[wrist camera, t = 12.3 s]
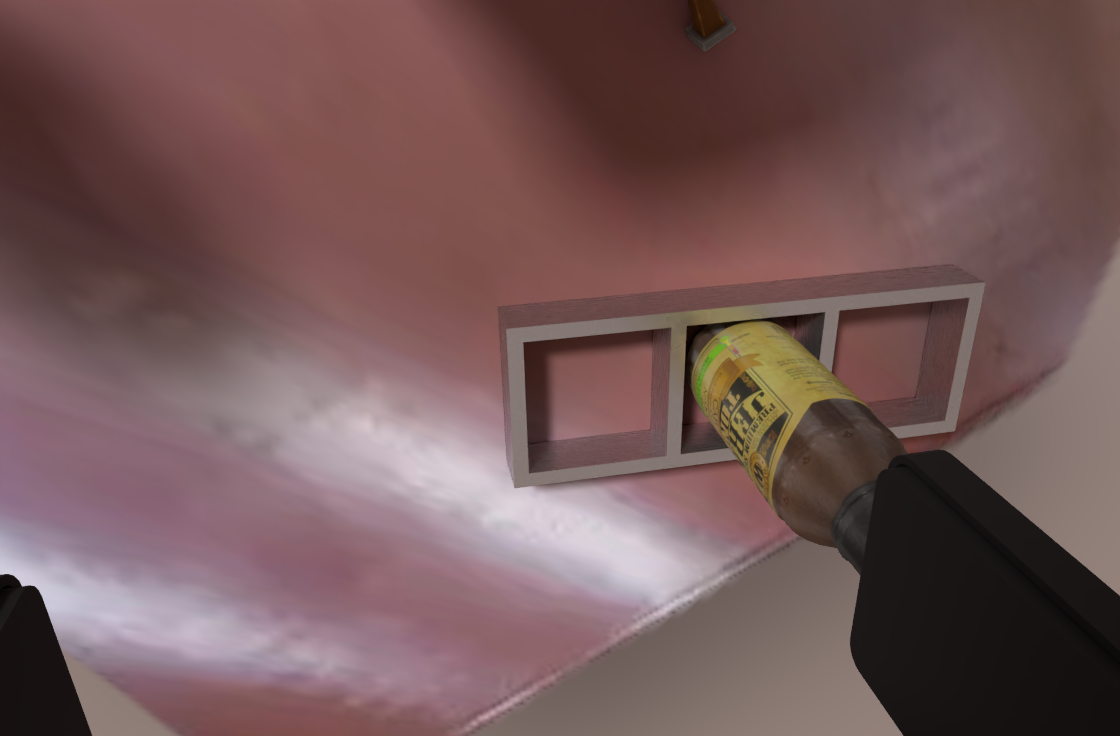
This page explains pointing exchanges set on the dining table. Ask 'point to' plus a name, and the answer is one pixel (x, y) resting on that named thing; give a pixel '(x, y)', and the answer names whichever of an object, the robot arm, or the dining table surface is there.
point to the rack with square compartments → (681, 308)
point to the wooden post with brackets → (707, 24)
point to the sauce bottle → (793, 429)
